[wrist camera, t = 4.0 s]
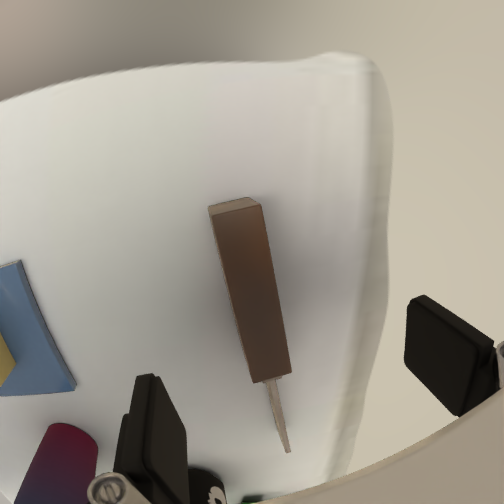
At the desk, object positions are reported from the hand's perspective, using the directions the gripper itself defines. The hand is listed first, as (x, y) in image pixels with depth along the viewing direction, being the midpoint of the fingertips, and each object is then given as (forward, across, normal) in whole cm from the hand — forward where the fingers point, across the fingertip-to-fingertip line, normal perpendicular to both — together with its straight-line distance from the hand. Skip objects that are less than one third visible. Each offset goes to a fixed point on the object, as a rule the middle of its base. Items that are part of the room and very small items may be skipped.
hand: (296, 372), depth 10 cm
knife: (+9, 0, +5) cm, 10 cm away
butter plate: (+9, +23, 0) cm, 25 cm away
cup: (+9, +19, +11) cm, 24 cm away
